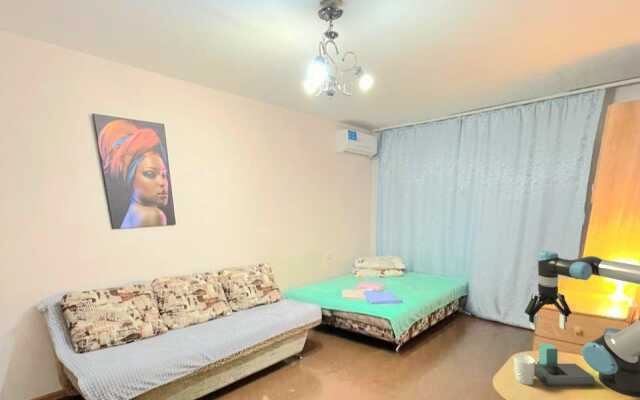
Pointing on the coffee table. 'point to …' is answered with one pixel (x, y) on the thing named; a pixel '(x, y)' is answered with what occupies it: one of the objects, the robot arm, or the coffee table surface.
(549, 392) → the coffee table surface
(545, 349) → the teal block
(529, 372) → the white cup
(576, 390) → the coffee table surface
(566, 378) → the grey slotted board
